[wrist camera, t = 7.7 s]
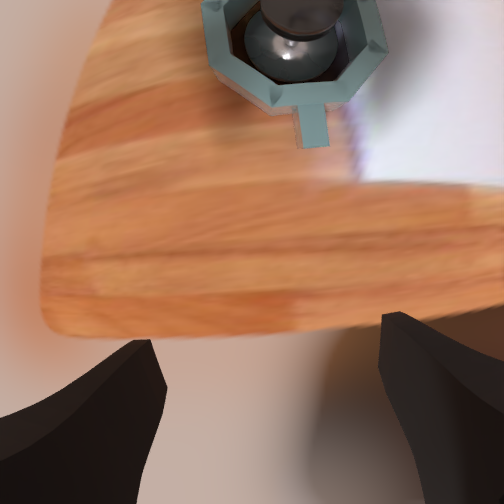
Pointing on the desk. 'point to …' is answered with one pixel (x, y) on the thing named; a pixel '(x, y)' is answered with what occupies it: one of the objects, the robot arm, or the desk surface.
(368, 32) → the grey-green octagonal bowl
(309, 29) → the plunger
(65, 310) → the desk surface
